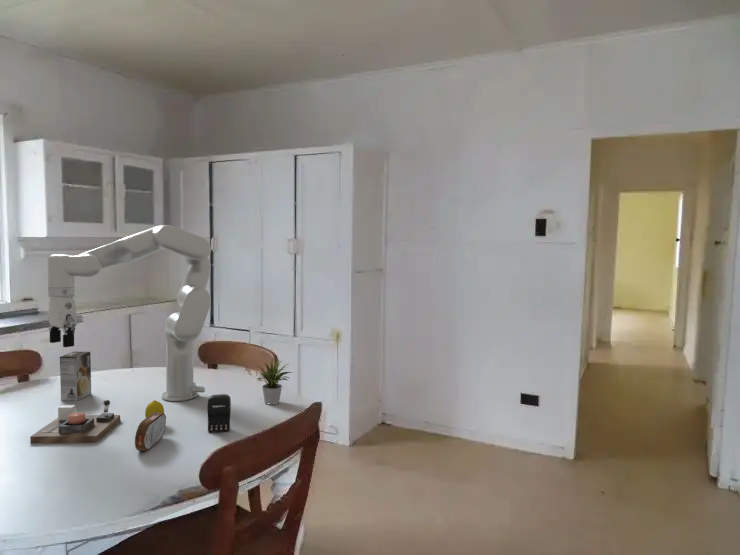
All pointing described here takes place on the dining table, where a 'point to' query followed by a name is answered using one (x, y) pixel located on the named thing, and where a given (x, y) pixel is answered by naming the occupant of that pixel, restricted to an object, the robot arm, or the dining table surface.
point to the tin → (150, 431)
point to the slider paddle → (65, 411)
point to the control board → (76, 430)
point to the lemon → (154, 408)
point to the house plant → (272, 382)
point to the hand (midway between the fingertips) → (61, 344)
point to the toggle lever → (106, 406)
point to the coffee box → (75, 375)
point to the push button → (76, 418)
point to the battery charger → (219, 412)
